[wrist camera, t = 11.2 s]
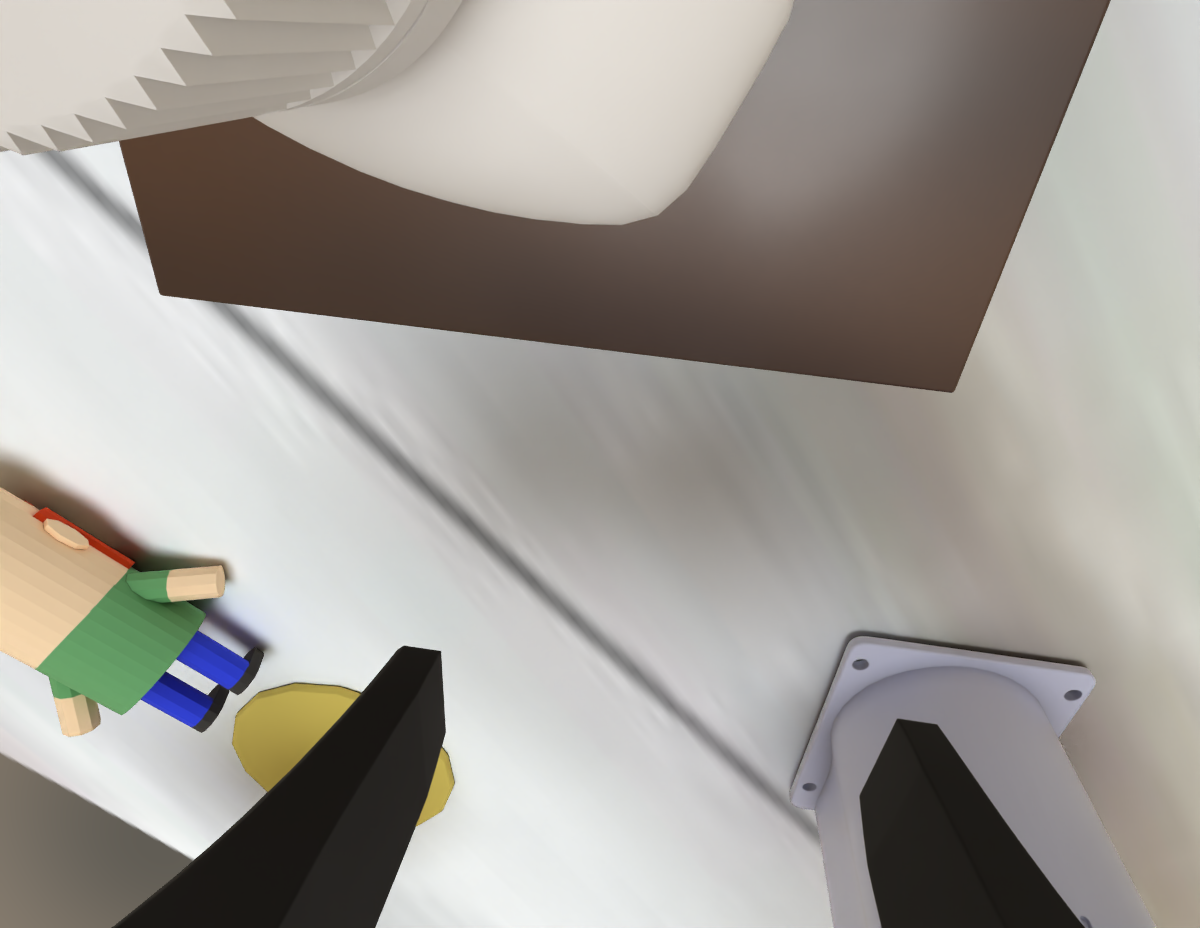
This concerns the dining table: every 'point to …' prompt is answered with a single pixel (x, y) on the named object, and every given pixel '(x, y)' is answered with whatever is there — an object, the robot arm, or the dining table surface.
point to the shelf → (684, 210)
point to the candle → (306, 735)
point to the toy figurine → (108, 623)
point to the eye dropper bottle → (408, 88)
